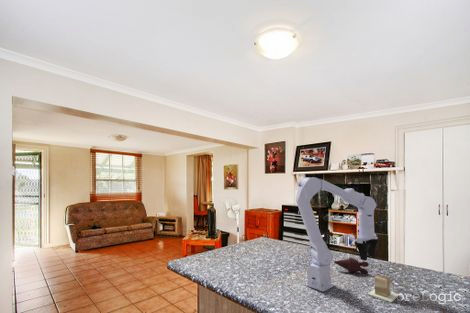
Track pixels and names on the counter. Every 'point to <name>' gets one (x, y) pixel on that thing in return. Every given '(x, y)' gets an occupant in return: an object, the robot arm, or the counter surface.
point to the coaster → (389, 298)
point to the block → (382, 285)
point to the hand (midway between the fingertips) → (367, 258)
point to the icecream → (353, 265)
